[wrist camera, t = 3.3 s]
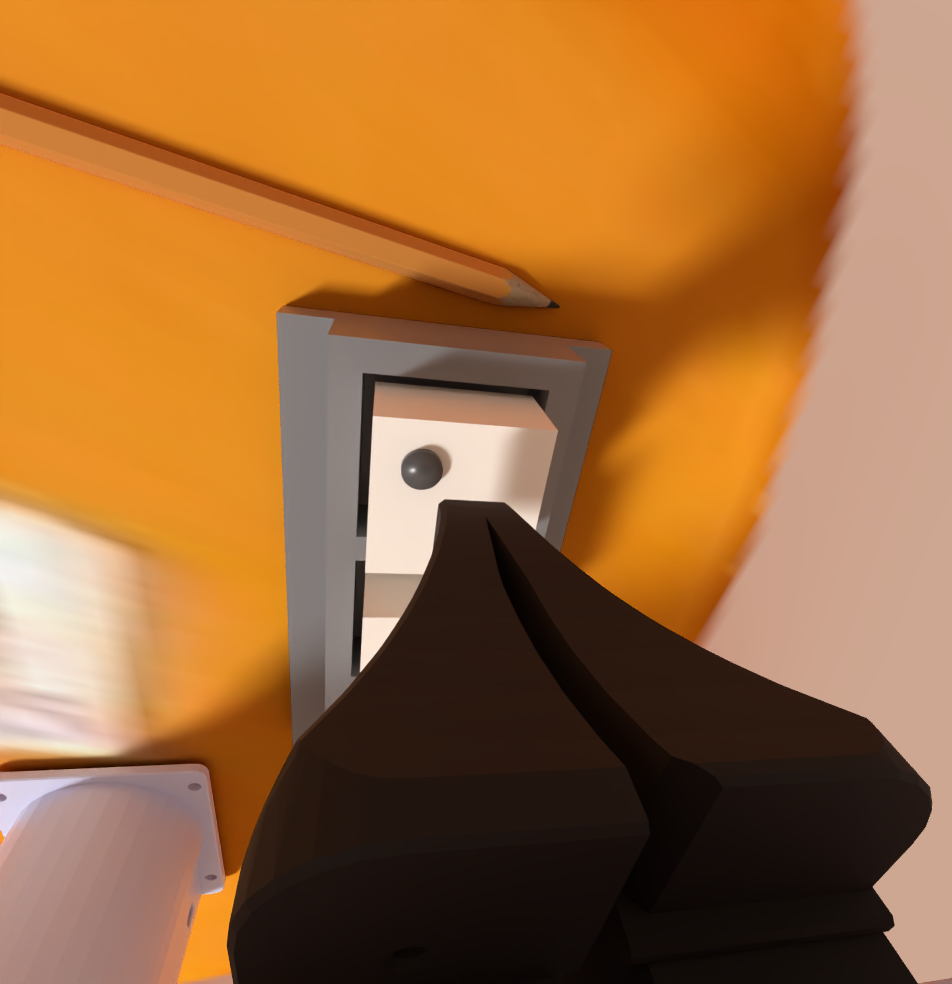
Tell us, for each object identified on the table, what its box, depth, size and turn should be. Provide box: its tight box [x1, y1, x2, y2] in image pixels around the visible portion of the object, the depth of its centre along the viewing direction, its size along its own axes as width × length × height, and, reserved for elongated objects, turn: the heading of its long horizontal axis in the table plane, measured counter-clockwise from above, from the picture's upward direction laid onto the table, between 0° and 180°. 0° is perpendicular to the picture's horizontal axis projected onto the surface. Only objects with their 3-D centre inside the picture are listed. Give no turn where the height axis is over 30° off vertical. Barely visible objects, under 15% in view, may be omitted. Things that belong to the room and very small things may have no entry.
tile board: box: [277, 306, 612, 746], centre depth 17 cm, size 17×9×3 cm, turn 172°
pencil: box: [0, 93, 559, 308], centre depth 12 cm, size 1×1×19 cm
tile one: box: [360, 573, 423, 672], centre depth 15 cm, size 4×4×3 cm
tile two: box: [365, 381, 558, 574], centre depth 13 cm, size 4×4×3 cm
